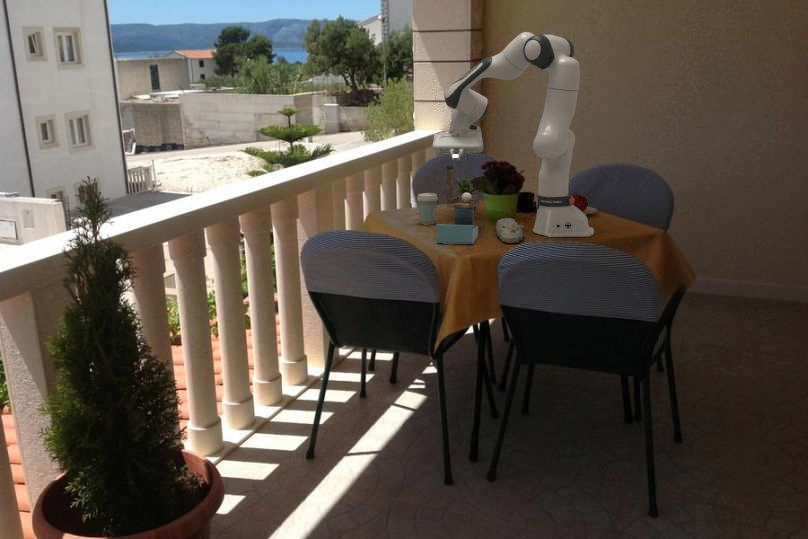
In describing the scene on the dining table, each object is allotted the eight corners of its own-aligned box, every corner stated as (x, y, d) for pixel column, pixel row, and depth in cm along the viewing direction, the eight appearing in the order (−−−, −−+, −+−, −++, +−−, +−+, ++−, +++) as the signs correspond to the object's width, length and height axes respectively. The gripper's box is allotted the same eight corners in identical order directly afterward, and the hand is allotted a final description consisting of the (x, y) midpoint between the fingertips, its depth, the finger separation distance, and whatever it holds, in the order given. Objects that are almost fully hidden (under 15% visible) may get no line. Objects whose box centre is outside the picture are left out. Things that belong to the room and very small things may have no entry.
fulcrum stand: (478, 230, 283) (478, 206, 280) (475, 233, 277) (475, 209, 275) (452, 229, 285) (452, 206, 283) (449, 233, 280) (449, 209, 277)
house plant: (440, 212, 319) (439, 174, 315) (463, 207, 327) (463, 171, 323) (461, 216, 308) (461, 178, 304) (485, 212, 316) (485, 174, 312)
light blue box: (477, 236, 273) (477, 218, 271) (472, 245, 261) (472, 225, 259) (443, 235, 276) (443, 217, 274) (436, 243, 264) (436, 224, 262)
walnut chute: (479, 210, 286) (480, 164, 284) (470, 213, 267) (472, 164, 265) (450, 209, 289) (450, 164, 287) (440, 212, 270) (440, 164, 267)
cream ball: (472, 203, 285) (472, 193, 285) (470, 201, 281) (471, 191, 281) (462, 203, 286) (462, 193, 286) (460, 201, 282) (461, 191, 282)
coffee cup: (436, 226, 292) (436, 196, 289) (415, 225, 294) (415, 196, 291) (439, 221, 300) (439, 192, 297) (419, 221, 302) (418, 192, 299)
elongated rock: (518, 227, 293) (493, 229, 294) (517, 214, 292) (492, 216, 293) (527, 243, 259) (499, 245, 260) (526, 229, 258) (498, 230, 259)
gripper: (433, 127, 295) (428, 154, 288) (483, 126, 290) (480, 154, 283) (435, 137, 300) (431, 164, 294) (485, 137, 295) (481, 164, 288)
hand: (455, 159), depth 288 cm, fingers closed
